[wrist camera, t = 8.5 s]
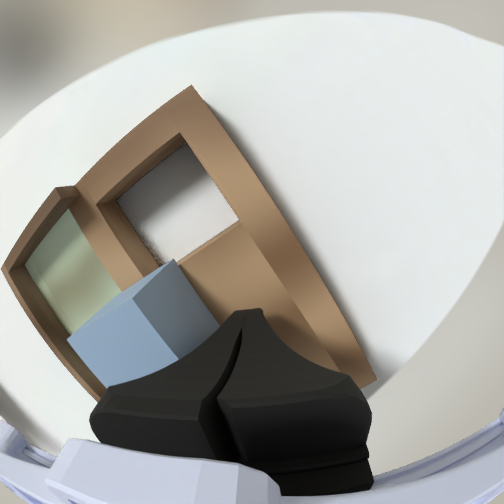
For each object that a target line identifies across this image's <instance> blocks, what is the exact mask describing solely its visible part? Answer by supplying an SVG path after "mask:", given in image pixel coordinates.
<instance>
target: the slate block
mask: <svg viewBox="0 0 504 504" xmlns="http://www.w3.org/2000/svg"><path fill="white" fill-rule="evenodd" d="M219 327H220V325H219V324H218V322H217V321H216V319H215V318H214V317H213V315H212V314H211V313H210V311H209V310H208V308H207V307H206V306H205V304H204V303H203V301H202V300H201V298H200V297H199V296H198V294H197V293H196V291H195V290H194V288H193V287H192V285H191V284H190V282H189V281H188V279H187V278H186V276H185V275H184V274H183V272H182V270H181V269H180V267H179V266H178V264H177V263H176V261H175V260H174V259H172V260H171V261H169V262H167V263H166V264H164V265H163V266H161V267H159V268H158V269H156V270H155V271H153V272H152V273H150V274H149V275H147V276H145V277H144V278H142V279H141V280H139V281H138V282H136V283H135V284H133V285H132V286H130V287H129V288H127V289H126V290H124V291H123V292H121V293H119V294H118V295H116V296H115V297H113V298H112V299H111V300H110V301H109V302H108V303H107V304H105V305H104V306H103V307H102V308H101V309H100V310H99V311H97V312H96V313H95V314H94V315H93V316H92V317H91V318H90V319H89V320H87V321H86V322H85V323H84V324H83V325H82V326H81V327H80V328H79V329H78V330H77V331H75V332H74V333H73V334H72V335H71V336H70V337H69V338H68V339H67V341H68V342H69V344H70V345H71V346H72V348H73V349H74V350H75V352H76V353H77V354H78V355H79V357H80V358H81V359H82V360H83V362H84V363H85V364H86V365H87V367H88V368H89V369H90V370H91V371H92V372H93V374H94V375H95V376H96V377H97V378H98V379H99V381H100V382H101V383H102V384H103V385H104V386H105V387H106V388H108V387H109V386H112V385H117V384H120V383H124V382H128V381H131V380H135V379H138V378H141V377H143V376H146V375H149V374H151V373H154V372H156V371H158V370H160V369H163V368H165V367H166V366H168V365H170V364H172V363H174V362H176V361H177V360H179V359H181V358H183V357H184V356H186V355H187V354H189V353H190V352H192V351H193V350H194V349H196V348H197V347H198V346H200V345H201V344H202V343H203V342H204V341H205V340H206V339H208V338H209V337H210V336H211V335H212V334H213V333H214V332H215V331H216V330H217V329H218V328H219Z"/></svg>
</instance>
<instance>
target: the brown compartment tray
mask: <svg viewBox="0 0 504 504" xmlns="http://www.w3.org/2000/svg"><path fill="white" fill-rule="evenodd" d="M186 143H188V145H189V146H190V148H191V149H192V151H193V152H194V153H195V155H196V156H197V158H198V159H199V161H200V162H201V164H202V165H203V167H204V168H205V170H206V171H207V173H208V174H209V176H210V177H211V178H212V180H213V181H214V183H215V184H216V186H217V187H218V189H219V190H220V192H221V193H222V195H223V196H224V198H225V199H226V201H227V202H228V204H229V205H230V207H231V208H232V209H233V211H234V212H235V214H236V215H237V217H238V218H239V221H237V222H236V223H234V224H233V225H231V226H230V227H228V228H227V229H225V230H224V231H222V232H221V233H219V234H218V235H216V236H215V237H213V238H212V239H210V240H209V241H207V242H206V243H204V244H203V245H201V246H200V247H198V248H197V249H195V250H194V251H192V252H191V253H190V254H188V255H187V256H185V257H184V258H182V259H181V260H179V261H178V262H176V263H177V264H178V266H179V267H180V269H181V270H182V272H183V274H184V275H185V276H186V278H187V279H188V281H189V282H190V284H191V285H192V287H193V288H194V290H195V291H196V293H197V294H198V296H199V297H200V298H201V300H202V301H203V303H204V304H205V306H206V307H207V308H208V310H209V311H210V313H211V314H212V315H213V317H214V318H215V319H216V321H217V322H218V324H219V325H220V326H221V325H222V324H223V323H224V322H225V321H226V320H227V319H228V317H229V316H230V315H231V314H232V313H233V312H234V311H236V310H245V309H254V308H261V309H262V310H263V313H264V316H265V318H266V320H267V322H268V323H269V325H270V326H271V328H272V329H273V330H274V332H275V333H276V334H277V335H278V336H279V337H280V339H281V340H282V341H283V342H284V343H285V344H287V345H288V346H289V347H290V348H291V349H292V350H294V351H295V352H296V353H298V354H299V355H301V356H302V357H304V358H306V359H307V360H309V361H311V362H313V363H315V364H317V365H320V366H322V367H324V368H327V369H330V370H334V371H337V372H341V373H344V374H348V375H350V376H351V378H352V379H353V380H354V382H355V383H356V384H357V386H358V387H359V389H361V388H363V387H365V386H366V385H368V384H370V383H372V382H373V381H375V380H377V378H376V376H375V374H374V372H373V370H372V368H371V366H370V364H369V363H368V361H367V359H366V357H365V355H364V353H363V351H362V349H361V348H360V346H359V344H358V342H357V340H356V339H355V337H354V335H353V333H352V331H351V329H350V328H349V326H348V324H347V322H346V321H345V319H344V317H343V315H342V313H341V312H340V310H339V308H338V306H337V305H336V303H335V301H334V300H333V298H332V296H331V294H330V293H329V291H328V289H327V288H326V286H325V284H324V282H323V281H322V279H321V277H320V276H319V274H318V272H317V271H316V269H315V267H314V266H313V264H312V262H311V261H310V259H309V257H308V256H307V254H306V253H305V251H304V249H303V248H302V246H301V244H300V243H299V241H298V240H297V238H296V236H295V235H294V233H293V232H292V230H291V228H290V227H289V225H288V224H287V222H286V221H285V219H284V217H283V216H282V214H281V213H280V211H279V210H278V208H277V207H276V205H275V203H274V202H273V200H272V199H271V197H270V196H269V194H268V193H267V191H266V190H265V188H264V187H263V185H262V184H261V182H260V181H259V179H258V178H257V176H256V175H255V173H254V172H253V170H252V169H251V167H250V166H249V164H248V163H247V161H246V160H245V158H244V157H243V156H242V154H241V153H240V151H239V150H238V148H237V147H236V145H235V144H234V143H233V141H232V140H231V138H230V137H229V135H228V134H227V133H226V131H225V130H224V128H223V127H222V126H221V124H220V123H219V121H218V120H217V119H216V117H215V116H214V114H213V113H212V112H211V110H210V109H209V108H208V106H207V105H206V103H205V102H204V101H203V99H202V98H201V97H200V95H199V94H198V93H197V91H196V90H195V89H194V87H193V86H192V85H190V86H189V87H187V88H186V89H185V90H183V91H182V92H180V93H179V94H177V95H176V96H175V97H173V98H172V99H170V100H169V101H168V102H166V103H165V104H164V105H162V106H161V107H160V108H158V109H157V110H156V111H155V112H153V113H152V114H151V115H149V116H148V117H147V118H146V119H145V120H143V121H142V122H141V123H140V124H138V125H137V126H136V127H135V128H134V129H133V130H131V131H130V132H129V133H128V134H127V135H126V136H124V137H123V138H122V139H121V140H120V141H119V142H118V143H117V144H116V145H115V146H113V147H112V148H111V149H110V150H109V151H108V152H107V153H106V154H105V155H104V156H103V157H102V158H101V159H100V160H99V161H98V162H97V163H96V164H95V165H94V166H93V167H92V168H91V169H90V170H89V171H88V172H87V173H86V174H85V175H84V176H83V177H82V178H81V179H80V180H79V182H78V183H77V184H76V185H75V186H65V187H55V189H54V190H53V191H52V192H51V194H50V195H49V196H48V197H47V199H46V200H45V201H44V203H43V204H42V205H41V207H40V208H39V209H38V211H37V212H36V213H35V215H34V216H33V218H32V219H31V221H30V222H29V223H28V225H27V226H26V228H25V229H24V231H23V232H22V234H21V236H20V237H19V239H18V240H17V242H16V243H15V245H14V247H13V248H12V250H11V252H10V253H9V255H8V257H7V259H6V260H5V262H4V264H3V266H2V268H1V270H2V272H3V274H4V276H5V278H6V280H7V282H8V284H9V286H10V287H11V289H12V291H13V293H14V294H15V296H16V298H17V300H18V301H19V303H20V305H21V306H22V308H23V309H24V311H25V313H26V314H27V316H28V317H29V319H30V320H31V322H32V323H33V325H34V326H35V328H36V329H37V331H38V332H39V333H40V335H41V336H42V338H43V339H44V340H45V342H46V343H47V344H48V346H49V347H50V348H51V350H52V351H53V352H54V354H55V355H56V356H57V357H58V359H59V360H60V361H61V362H62V364H63V365H64V366H65V367H66V368H67V370H68V371H69V372H70V373H71V374H72V375H73V376H74V378H75V379H76V380H77V381H78V382H79V383H80V384H81V385H82V386H83V388H84V389H85V390H86V391H87V392H88V393H89V394H90V395H91V396H92V397H93V398H94V399H95V400H96V401H97V402H99V400H100V399H101V397H102V396H103V394H104V393H105V391H106V390H107V388H106V387H105V386H104V385H103V384H102V383H101V382H100V381H99V379H98V378H97V377H96V376H95V375H94V374H93V372H92V371H91V370H90V369H89V368H88V367H87V365H86V364H85V363H84V362H83V360H82V359H81V358H80V357H79V355H78V354H77V353H76V352H75V350H74V349H73V348H72V346H71V345H70V344H69V342H68V341H67V339H68V338H69V337H70V336H71V335H72V334H73V333H74V332H75V331H77V330H78V329H79V328H80V327H81V326H82V325H83V324H84V323H85V322H86V321H87V320H89V319H90V318H91V317H92V316H93V315H94V314H95V313H96V312H97V311H99V310H100V309H101V308H102V307H103V306H104V305H105V304H107V303H108V302H109V301H110V300H111V299H112V298H113V297H115V296H116V295H118V294H119V293H121V292H123V291H124V290H126V289H127V288H129V287H130V286H132V285H133V284H135V283H136V282H138V281H139V280H141V279H142V278H144V277H145V276H147V275H149V274H150V273H152V272H153V271H155V270H156V269H158V268H159V267H160V266H159V264H158V263H157V261H156V260H155V259H154V257H153V256H152V254H151V253H150V251H149V250H148V249H147V247H146V246H145V244H144V243H143V241H142V240H141V238H140V237H139V235H138V234H137V232H136V231H135V229H134V228H133V226H132V225H131V223H130V222H129V220H128V218H127V217H126V215H125V214H124V212H123V211H122V209H121V207H120V206H119V204H118V203H117V201H116V200H117V199H118V198H119V197H120V196H121V195H122V194H124V193H125V192H126V191H127V190H128V189H129V188H130V187H132V186H133V185H134V184H135V183H136V182H137V181H138V180H140V179H141V178H142V177H143V176H144V175H146V174H147V173H148V172H149V171H151V170H152V169H153V168H154V167H155V166H157V165H158V164H159V163H160V162H162V161H163V160H164V159H166V158H167V157H168V156H169V155H171V154H172V153H173V152H175V151H176V150H177V149H179V148H180V147H181V146H183V145H184V144H186Z"/></svg>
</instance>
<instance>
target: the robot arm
mask: <svg viewBox="0 0 504 504" xmlns="http://www.w3.org/2000/svg"><path fill="white" fill-rule="evenodd" d="M89 421H90V425H91V428H92V431H93V432H94V434H95V435H96V437H97V438H98V440H99V441H100V442H101V443H98V442H95V441H91V440H84V439H68V440H67V442H66V444H65V445H64V447H63V448H62V450H61V452H60V453H59V455H58V457H56V456H54V455H51V454H49V453H47V452H45V451H43V450H41V449H39V448H37V447H35V446H33V445H31V444H29V443H28V442H27V440H26V439H25V438H24V437H23V435H22V434H21V433H20V432H19V431H18V430H17V429H16V428H14V427H13V426H11V425H10V424H8V423H6V422H4V421H3V420H0V481H1V482H2V483H3V484H4V485H6V486H7V487H8V488H9V489H10V490H11V491H12V492H14V493H15V494H16V495H18V496H19V497H20V498H22V499H23V500H24V501H26V502H27V503H29V504H487V503H488V502H490V501H491V500H492V499H494V498H495V497H496V496H498V495H499V494H500V493H502V492H503V491H504V408H503V410H502V412H501V414H500V416H499V418H498V419H496V420H495V421H493V422H492V423H490V424H489V425H487V426H485V427H484V428H482V429H480V430H479V431H477V432H475V433H474V434H472V435H470V436H468V437H467V438H465V439H463V440H461V441H459V442H458V443H456V444H454V445H452V446H450V447H448V448H446V449H444V450H442V451H439V452H437V453H435V454H433V455H431V456H428V457H426V458H424V459H421V460H419V461H416V462H414V463H411V464H409V465H406V466H403V467H400V468H398V469H395V470H392V471H389V472H386V473H383V474H380V475H376V476H373V475H372V472H371V468H370V465H369V462H368V458H369V451H368V448H367V445H366V441H367V437H368V434H369V430H370V426H371V422H372V412H371V410H370V407H369V404H368V402H367V400H366V398H365V397H364V395H363V393H362V392H361V390H360V389H359V387H358V386H357V384H356V383H355V382H354V380H353V379H352V378H351V376H350V375H348V374H344V373H341V372H337V371H334V370H330V369H327V368H324V367H322V366H320V365H317V364H315V363H313V362H311V361H309V360H307V359H306V358H304V357H302V356H301V355H299V354H298V353H296V352H295V351H294V350H292V349H291V348H290V347H289V346H288V345H287V344H285V343H284V342H283V341H282V340H281V339H280V337H279V336H278V335H277V334H276V333H275V332H274V330H273V329H272V328H271V326H270V325H269V323H268V322H267V320H266V318H265V316H264V313H263V310H262V309H261V308H254V309H245V310H236V311H234V312H233V313H232V314H231V315H230V316H229V317H228V319H227V320H226V321H225V322H224V323H223V324H222V325H221V326H220V327H219V328H218V329H217V330H216V331H215V332H214V333H213V334H212V335H211V336H210V337H209V338H208V339H206V340H205V341H204V342H203V343H202V344H201V345H200V346H198V347H197V348H196V349H194V350H193V351H192V352H190V353H189V354H187V355H186V356H184V357H183V358H181V359H179V360H177V361H176V362H174V363H172V364H170V365H168V366H166V367H165V368H163V369H160V370H158V371H156V372H154V373H151V374H149V375H146V376H143V377H141V378H138V379H135V380H131V381H128V382H124V383H120V384H117V385H112V386H109V387H108V388H107V390H106V391H105V393H104V394H103V396H102V397H101V399H100V400H99V402H98V403H97V405H96V407H95V408H94V410H93V411H92V413H91V414H90V419H89Z"/></svg>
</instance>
